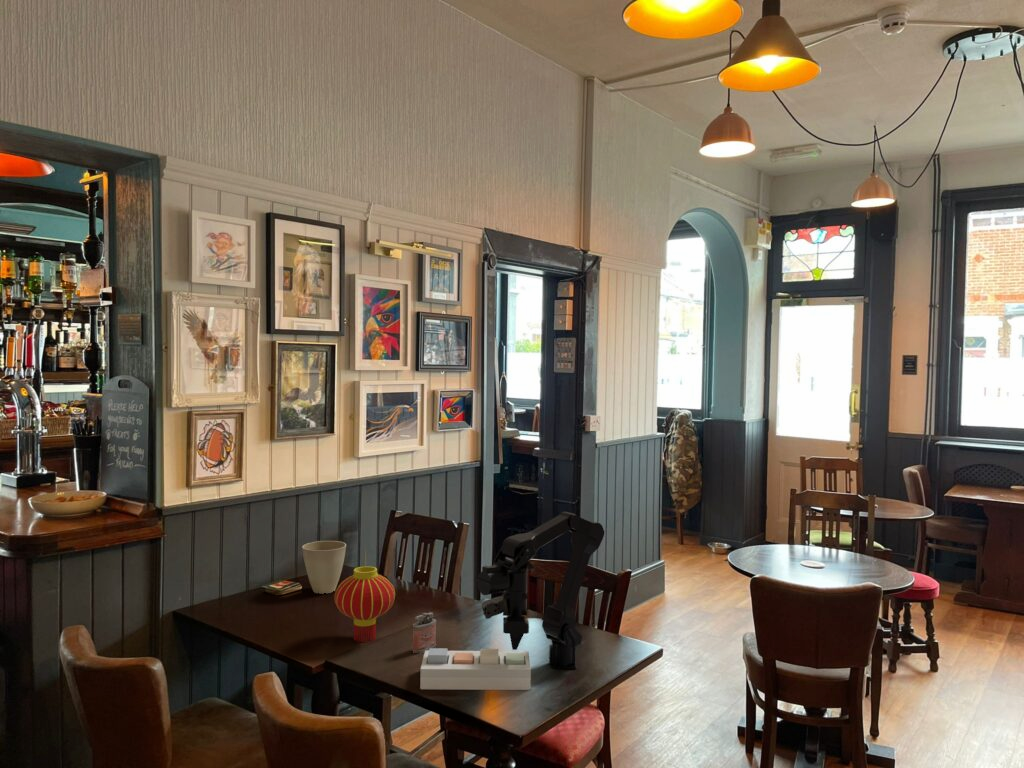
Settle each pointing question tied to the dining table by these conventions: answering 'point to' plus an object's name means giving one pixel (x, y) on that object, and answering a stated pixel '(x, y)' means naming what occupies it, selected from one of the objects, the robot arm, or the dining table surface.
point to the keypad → (476, 673)
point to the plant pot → (324, 564)
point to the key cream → (488, 656)
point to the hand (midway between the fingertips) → (514, 649)
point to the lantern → (364, 599)
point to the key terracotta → (463, 658)
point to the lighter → (424, 633)
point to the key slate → (437, 656)
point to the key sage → (514, 658)
